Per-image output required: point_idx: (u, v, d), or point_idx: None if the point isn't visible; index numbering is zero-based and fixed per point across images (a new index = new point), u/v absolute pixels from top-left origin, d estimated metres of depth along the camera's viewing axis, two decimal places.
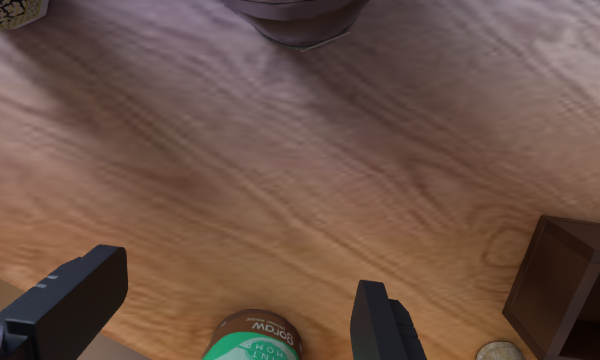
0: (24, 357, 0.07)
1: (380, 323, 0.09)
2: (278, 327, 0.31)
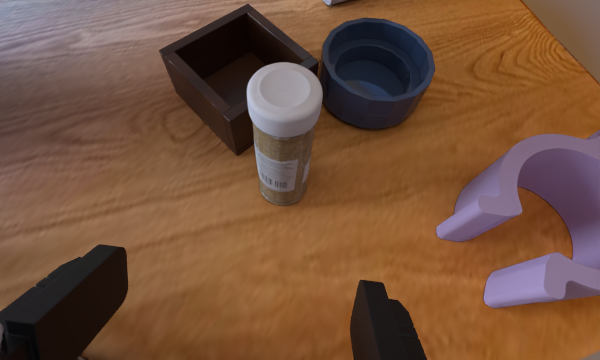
0: (24, 357, 0.07)
1: (380, 323, 0.09)
2: None
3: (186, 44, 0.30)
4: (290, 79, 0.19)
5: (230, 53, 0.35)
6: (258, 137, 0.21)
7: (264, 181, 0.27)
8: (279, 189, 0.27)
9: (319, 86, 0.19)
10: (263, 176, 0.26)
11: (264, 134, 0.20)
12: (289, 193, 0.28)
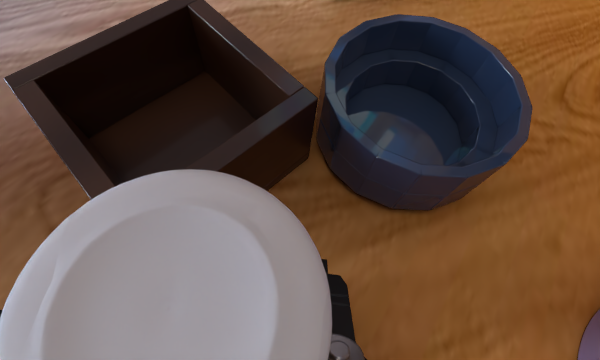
0: None
1: None
2: None
3: (62, 65, 0.16)
4: (197, 260, 0.05)
5: (166, 76, 0.21)
6: None
7: None
8: None
9: (320, 286, 0.05)
10: None
11: None
12: None
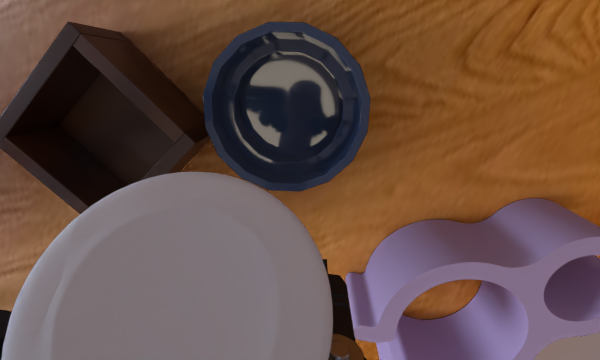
0: None
1: None
2: None
3: (15, 123, 0.22)
4: (202, 260, 0.05)
5: (88, 75, 0.25)
6: None
7: None
8: None
9: (321, 285, 0.05)
10: None
11: None
12: None
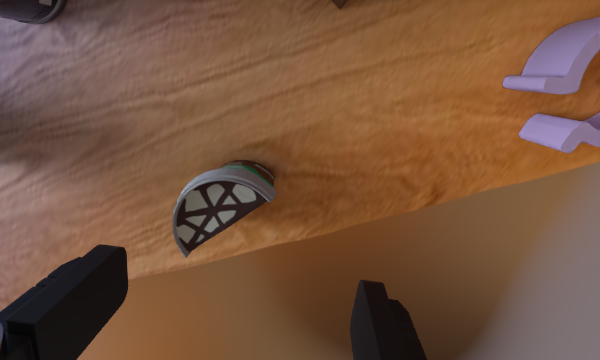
0: (24, 358, 0.07)
1: (380, 323, 0.09)
2: (227, 164, 0.40)
3: None
4: None
5: None
6: None
7: None
8: None
9: None
10: None
11: None
12: None
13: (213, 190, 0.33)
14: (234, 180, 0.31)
